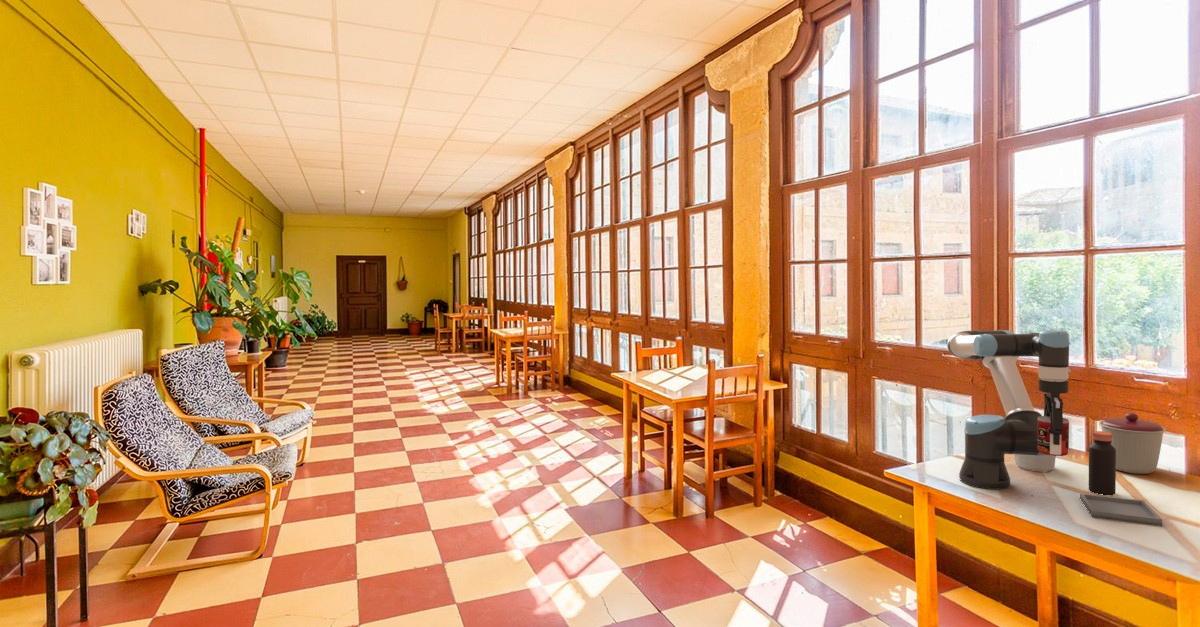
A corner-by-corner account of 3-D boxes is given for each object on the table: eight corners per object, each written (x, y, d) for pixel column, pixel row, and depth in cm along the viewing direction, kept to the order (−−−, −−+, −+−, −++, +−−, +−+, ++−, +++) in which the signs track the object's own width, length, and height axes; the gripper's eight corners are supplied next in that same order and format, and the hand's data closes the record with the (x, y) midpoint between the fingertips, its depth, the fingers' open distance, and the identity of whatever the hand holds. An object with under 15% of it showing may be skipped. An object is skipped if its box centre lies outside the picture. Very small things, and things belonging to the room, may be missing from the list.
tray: (1092, 517, 175) (1092, 510, 175) (1079, 499, 189) (1079, 493, 189) (1162, 526, 168) (1162, 519, 168) (1143, 506, 181) (1143, 500, 181)
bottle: (1084, 491, 195) (1085, 432, 194) (1093, 487, 199) (1094, 429, 198) (1110, 497, 189) (1111, 436, 188) (1118, 493, 193) (1119, 433, 192)
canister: (1154, 481, 202) (1155, 421, 201) (1089, 468, 217) (1090, 412, 216) (1173, 471, 211) (1174, 413, 210) (1110, 459, 227) (1110, 405, 225)
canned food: (1031, 450, 189) (1031, 416, 189) (1053, 448, 190) (1053, 415, 189) (1051, 457, 182) (1052, 422, 181) (1075, 455, 183) (1075, 420, 182)
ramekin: (1008, 467, 221) (1008, 449, 221) (1018, 459, 230) (1018, 442, 229) (1051, 475, 211) (1051, 456, 211) (1060, 467, 220) (1060, 449, 219)
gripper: (1076, 385, 174) (1075, 461, 175) (1061, 374, 192) (1060, 443, 193) (1045, 384, 177) (1044, 458, 179) (1033, 373, 195) (1032, 440, 197)
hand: (1052, 450), depth 186 cm, fingers closed on canned food, 8 cm apart
